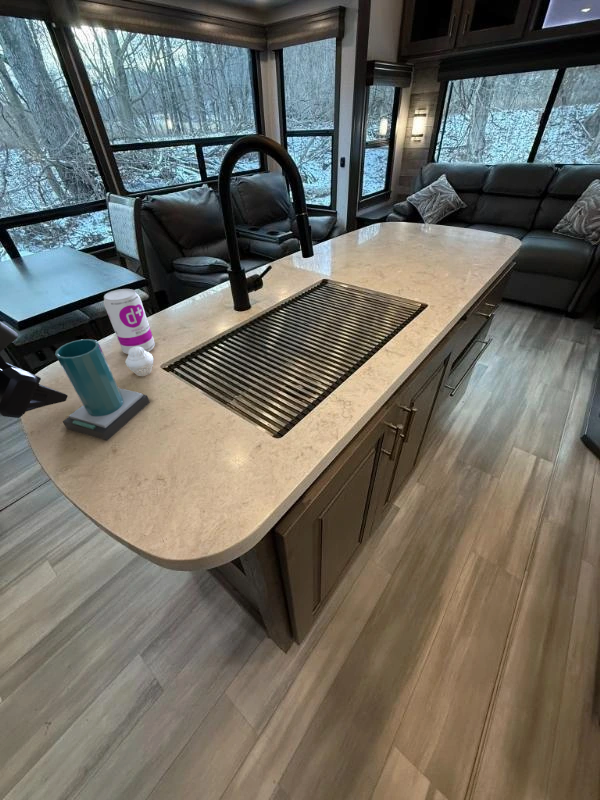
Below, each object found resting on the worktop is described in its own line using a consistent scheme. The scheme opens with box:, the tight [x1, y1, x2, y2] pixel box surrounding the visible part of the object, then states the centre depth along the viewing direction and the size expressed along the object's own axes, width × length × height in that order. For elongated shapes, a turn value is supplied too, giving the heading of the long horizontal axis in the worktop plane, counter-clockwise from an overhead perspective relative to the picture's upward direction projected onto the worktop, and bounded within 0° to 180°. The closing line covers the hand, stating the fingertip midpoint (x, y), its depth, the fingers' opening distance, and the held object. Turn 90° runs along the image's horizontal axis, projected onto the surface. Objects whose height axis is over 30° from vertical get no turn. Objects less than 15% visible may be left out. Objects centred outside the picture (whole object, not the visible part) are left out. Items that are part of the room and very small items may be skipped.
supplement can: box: [103, 288, 156, 355], centre depth 84 cm, size 8×8×15 cm
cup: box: [54, 338, 123, 416], centre depth 62 cm, size 7×7×13 cm
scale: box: [62, 387, 151, 441], centre depth 67 cm, size 12×10×3 cm
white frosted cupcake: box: [124, 346, 154, 377], centre depth 78 cm, size 6×6×7 cm
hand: (52, 388), depth 57 cm, fingers open, 9 cm apart
